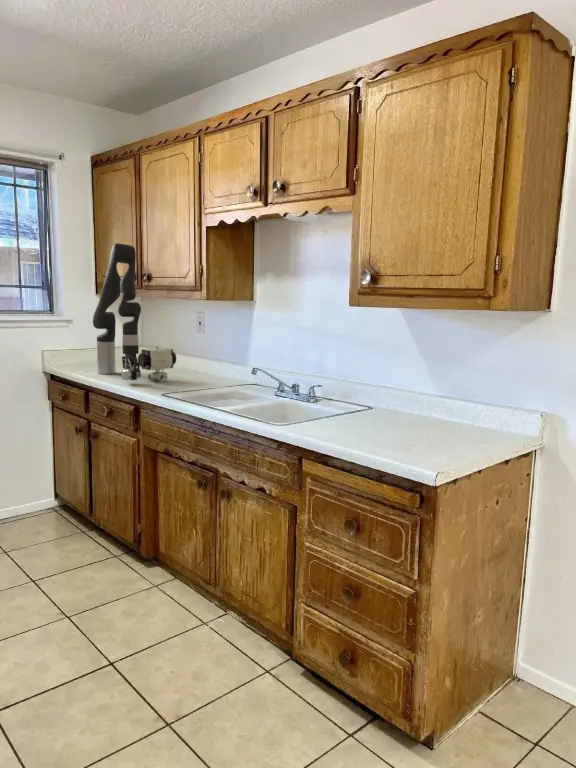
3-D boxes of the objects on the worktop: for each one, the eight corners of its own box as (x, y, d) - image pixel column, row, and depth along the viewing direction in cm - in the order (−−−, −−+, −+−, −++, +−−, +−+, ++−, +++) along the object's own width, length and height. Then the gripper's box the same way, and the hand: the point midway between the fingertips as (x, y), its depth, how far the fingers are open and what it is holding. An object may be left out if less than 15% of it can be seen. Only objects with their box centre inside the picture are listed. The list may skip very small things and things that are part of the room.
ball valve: (146, 384, 280) (145, 347, 277) (137, 381, 286) (137, 346, 283) (178, 380, 292) (177, 346, 289) (169, 378, 298) (169, 344, 295)
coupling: (121, 379, 278) (120, 368, 277) (136, 378, 283) (135, 367, 282) (126, 381, 274) (126, 369, 273) (141, 379, 279) (141, 368, 278)
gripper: (116, 343, 278) (117, 377, 281) (130, 345, 268) (131, 381, 271) (130, 342, 283) (131, 376, 286) (145, 344, 273) (145, 379, 276)
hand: (131, 378), depth 278 cm, fingers closed on coupling, 5 cm apart
